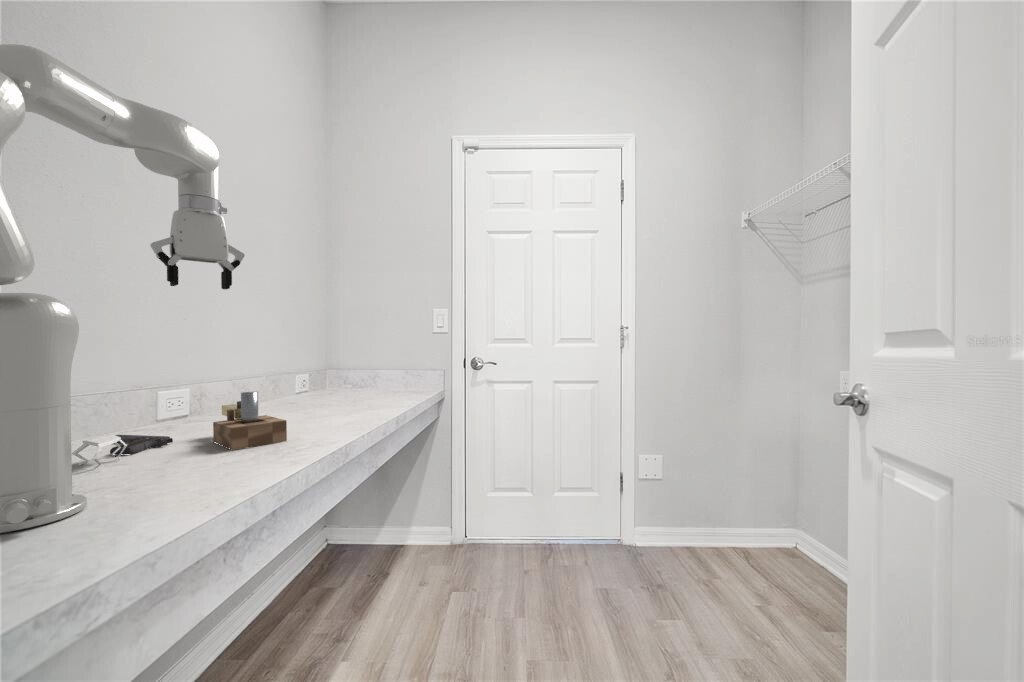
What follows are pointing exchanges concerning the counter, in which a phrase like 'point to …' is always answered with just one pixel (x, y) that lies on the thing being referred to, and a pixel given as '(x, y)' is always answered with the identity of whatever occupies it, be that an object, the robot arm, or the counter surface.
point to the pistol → (140, 443)
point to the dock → (249, 431)
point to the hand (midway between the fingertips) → (200, 287)
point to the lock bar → (234, 407)
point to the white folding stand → (100, 446)
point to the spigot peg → (249, 407)
